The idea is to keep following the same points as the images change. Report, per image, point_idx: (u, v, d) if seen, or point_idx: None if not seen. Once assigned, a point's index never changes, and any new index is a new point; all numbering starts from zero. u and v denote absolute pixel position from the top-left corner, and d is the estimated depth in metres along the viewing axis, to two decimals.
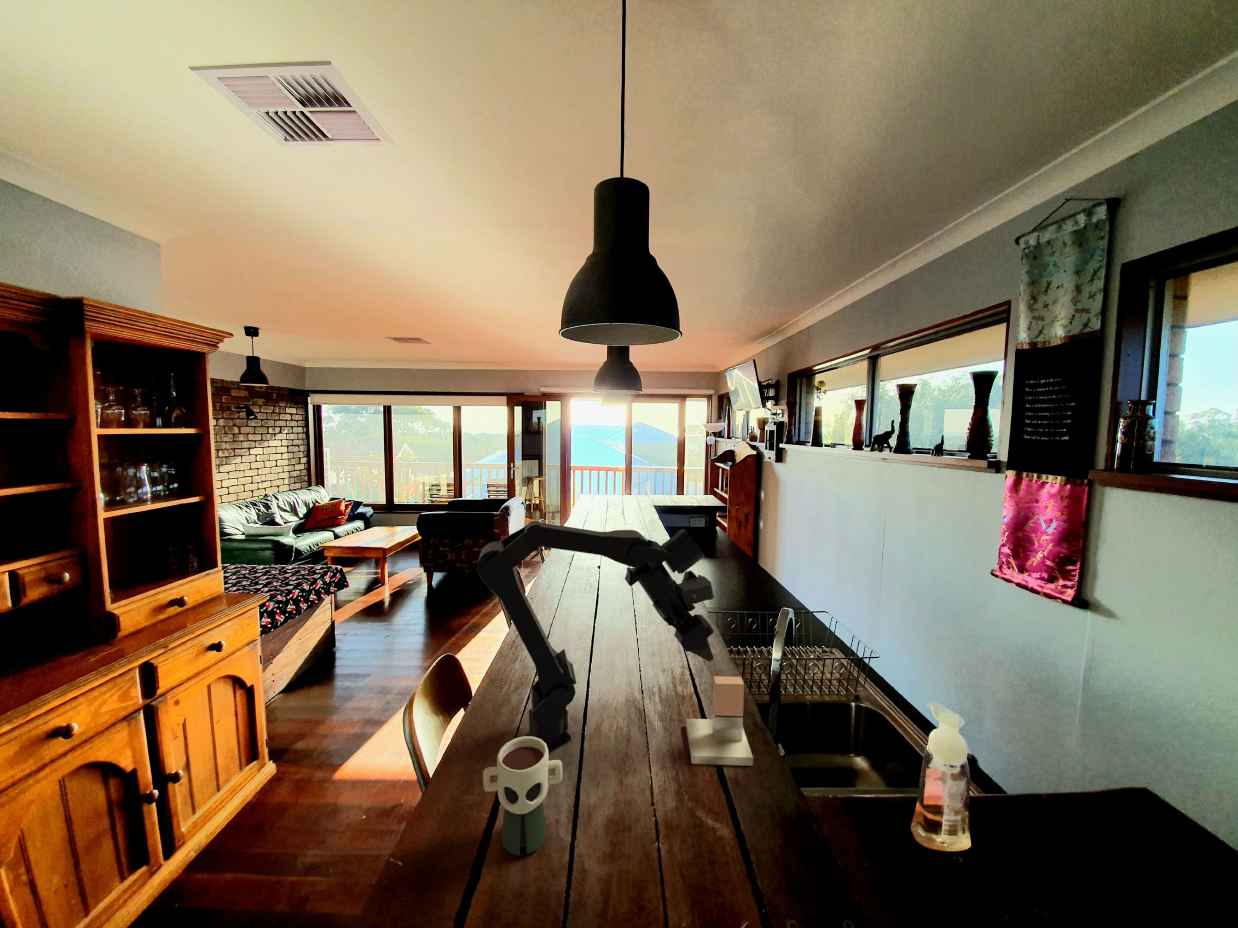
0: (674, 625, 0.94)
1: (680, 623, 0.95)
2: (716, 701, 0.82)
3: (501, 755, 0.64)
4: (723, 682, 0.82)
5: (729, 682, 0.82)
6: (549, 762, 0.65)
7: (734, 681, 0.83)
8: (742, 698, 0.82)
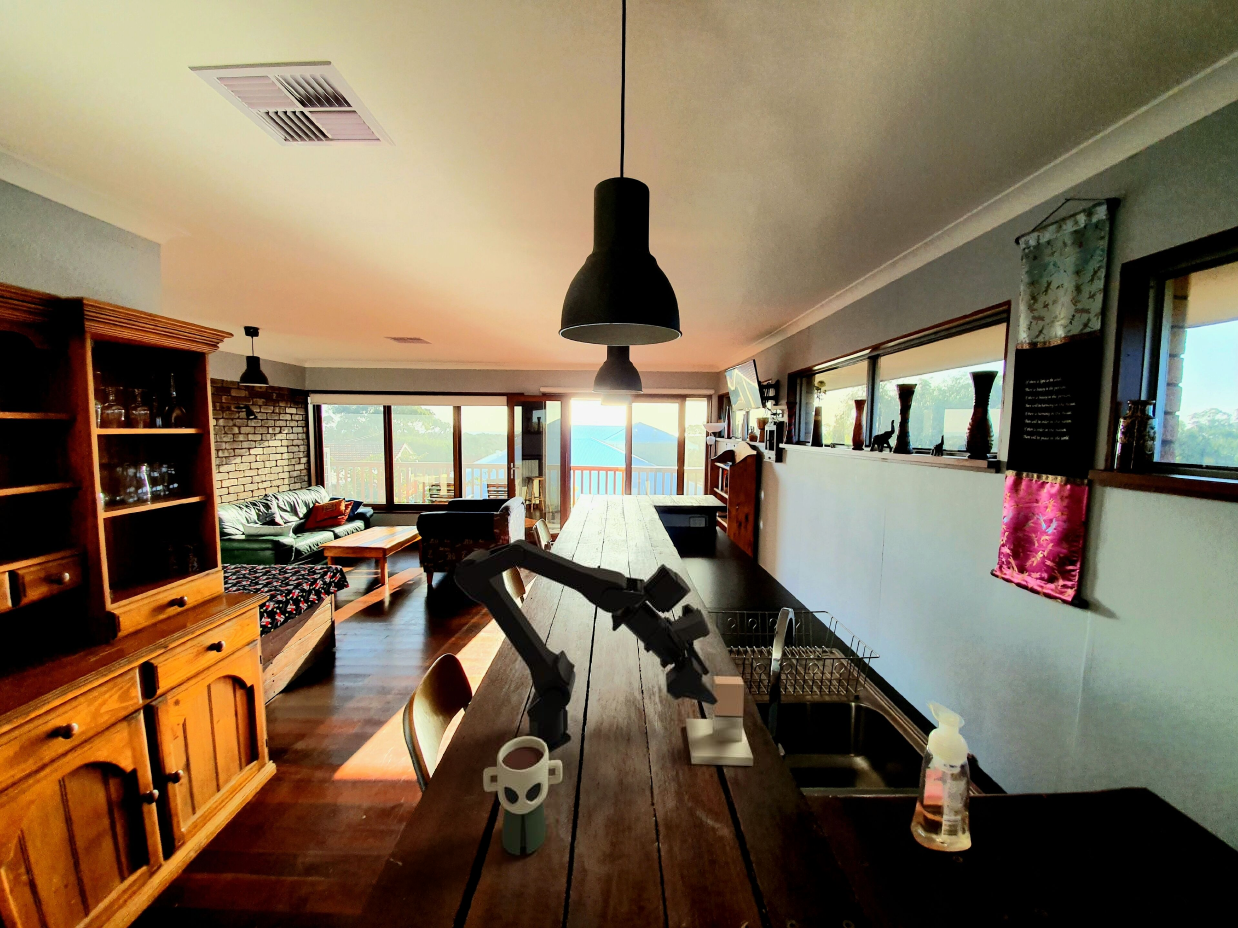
0: None
1: None
2: None
3: (501, 755, 0.64)
4: (723, 682, 0.82)
5: (729, 682, 0.82)
6: (549, 762, 0.65)
7: (734, 681, 0.83)
8: (742, 698, 0.82)
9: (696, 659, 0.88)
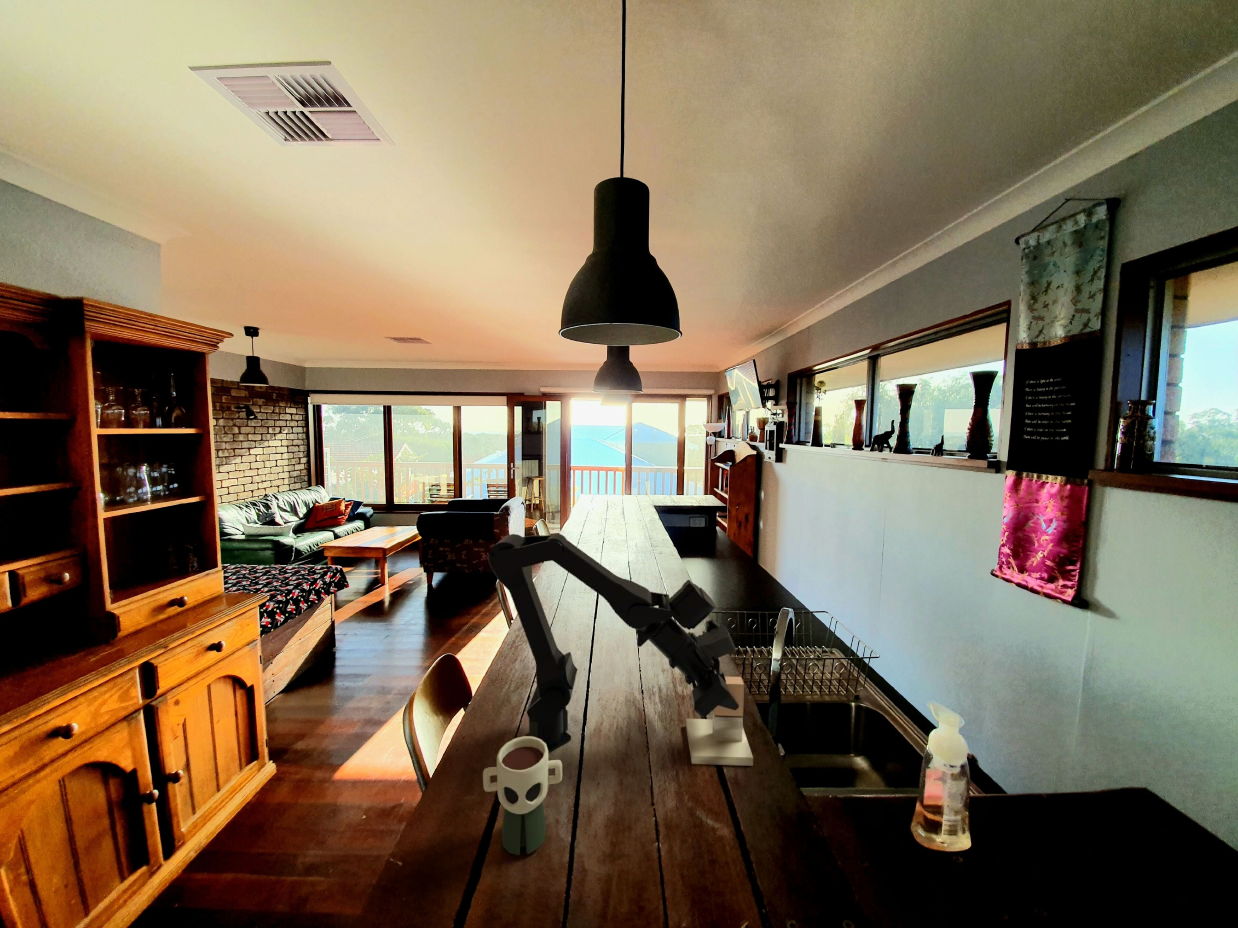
0: None
1: None
2: None
3: (501, 755, 0.64)
4: None
5: (729, 682, 0.82)
6: (549, 762, 0.65)
7: (734, 681, 0.83)
8: (742, 698, 0.82)
9: None
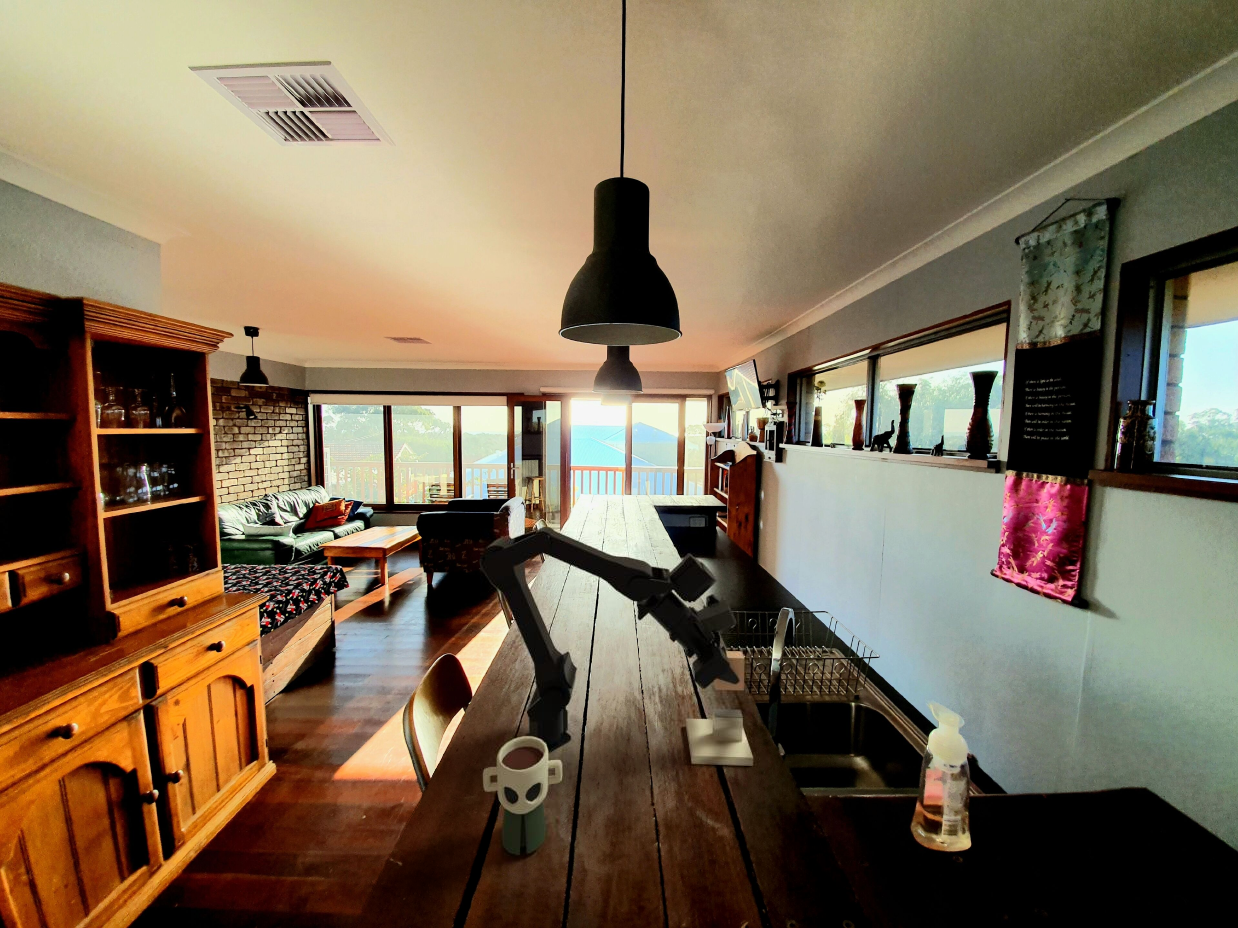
0: None
1: None
2: None
3: (501, 755, 0.64)
4: None
5: (729, 656, 0.82)
6: (549, 762, 0.65)
7: (735, 655, 0.82)
8: (743, 673, 0.82)
9: None
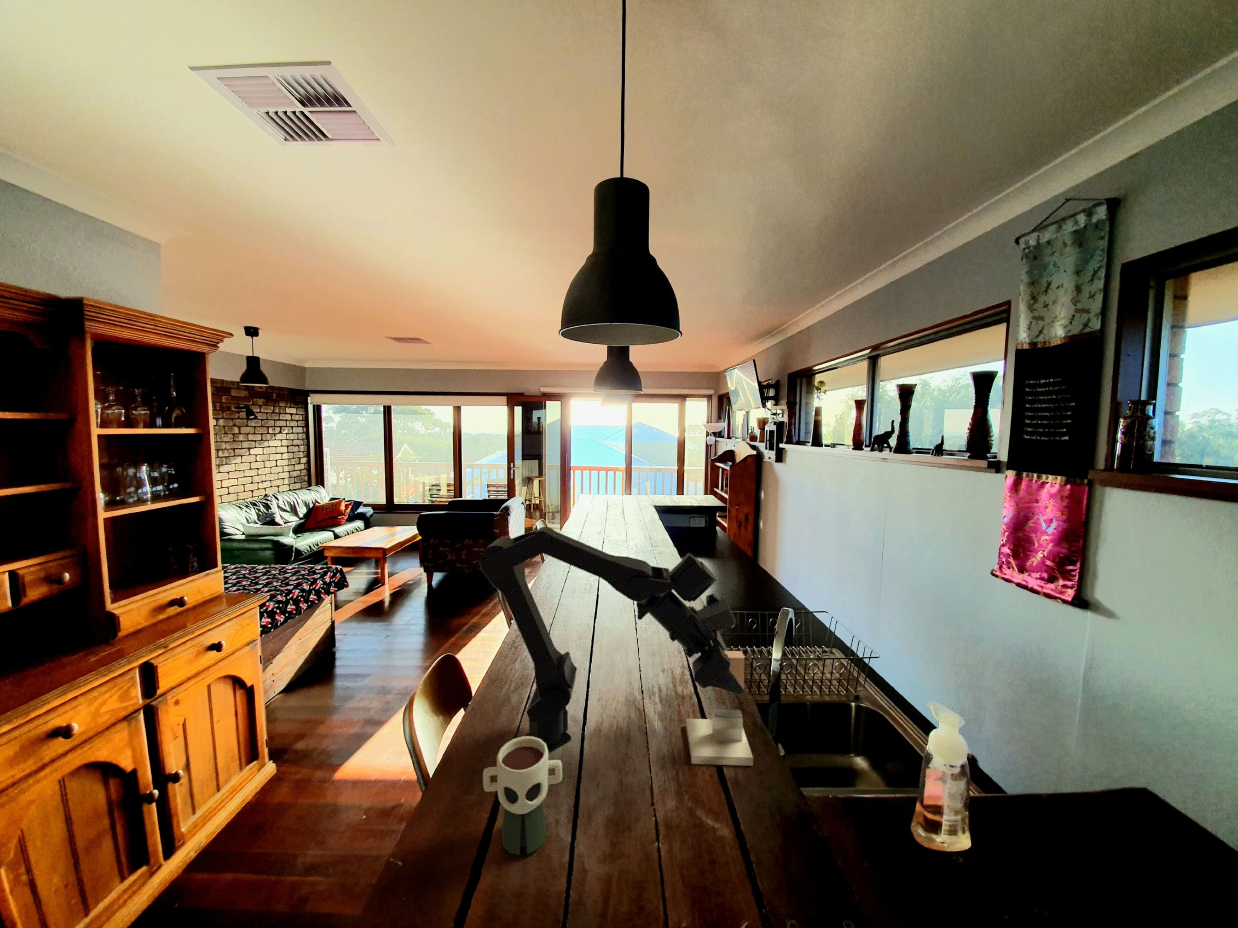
0: None
1: None
2: None
3: (501, 755, 0.64)
4: None
5: (729, 656, 0.82)
6: (549, 762, 0.65)
7: (735, 655, 0.82)
8: (743, 672, 0.82)
9: None
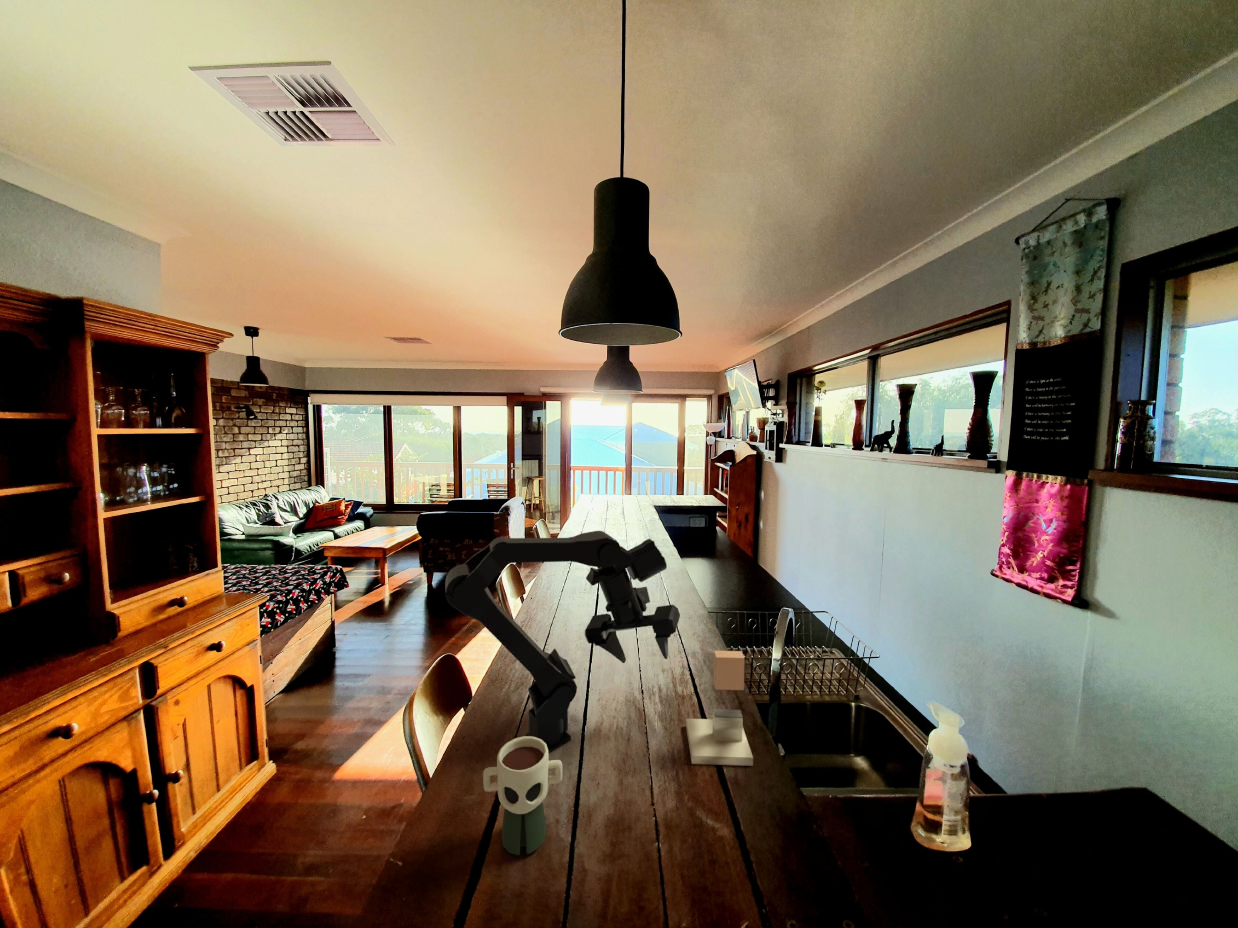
0: (613, 648, 0.91)
1: (616, 646, 0.92)
2: (717, 675, 0.82)
3: (501, 755, 0.64)
4: (724, 656, 0.82)
5: (729, 656, 0.82)
6: (549, 762, 0.65)
7: (735, 655, 0.82)
8: (743, 672, 0.82)
9: (619, 645, 0.93)
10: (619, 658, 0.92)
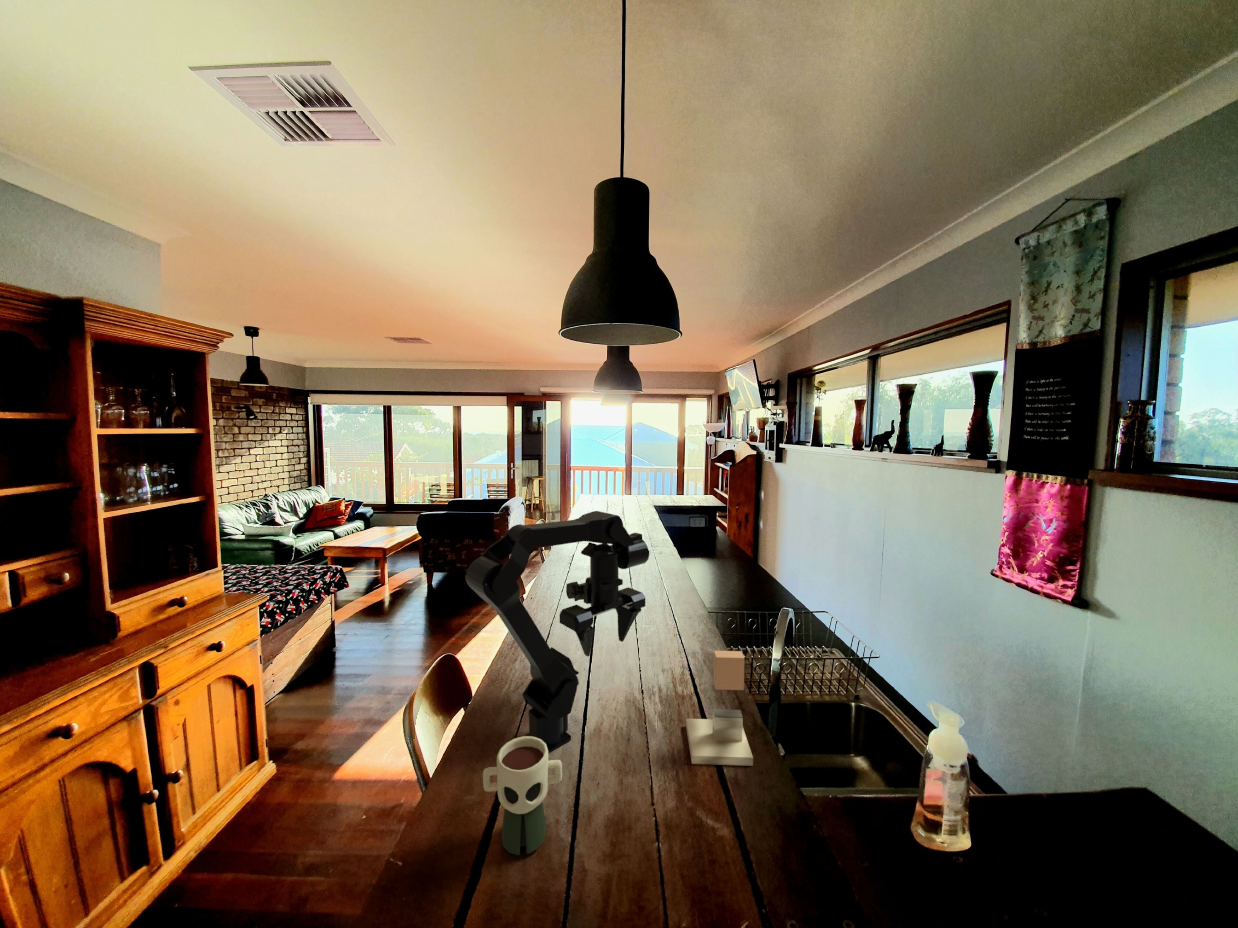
0: None
1: None
2: (717, 675, 0.82)
3: (501, 755, 0.64)
4: (724, 656, 0.82)
5: (729, 656, 0.82)
6: (549, 762, 0.65)
7: (735, 655, 0.82)
8: (743, 672, 0.82)
9: None
10: (589, 649, 0.90)
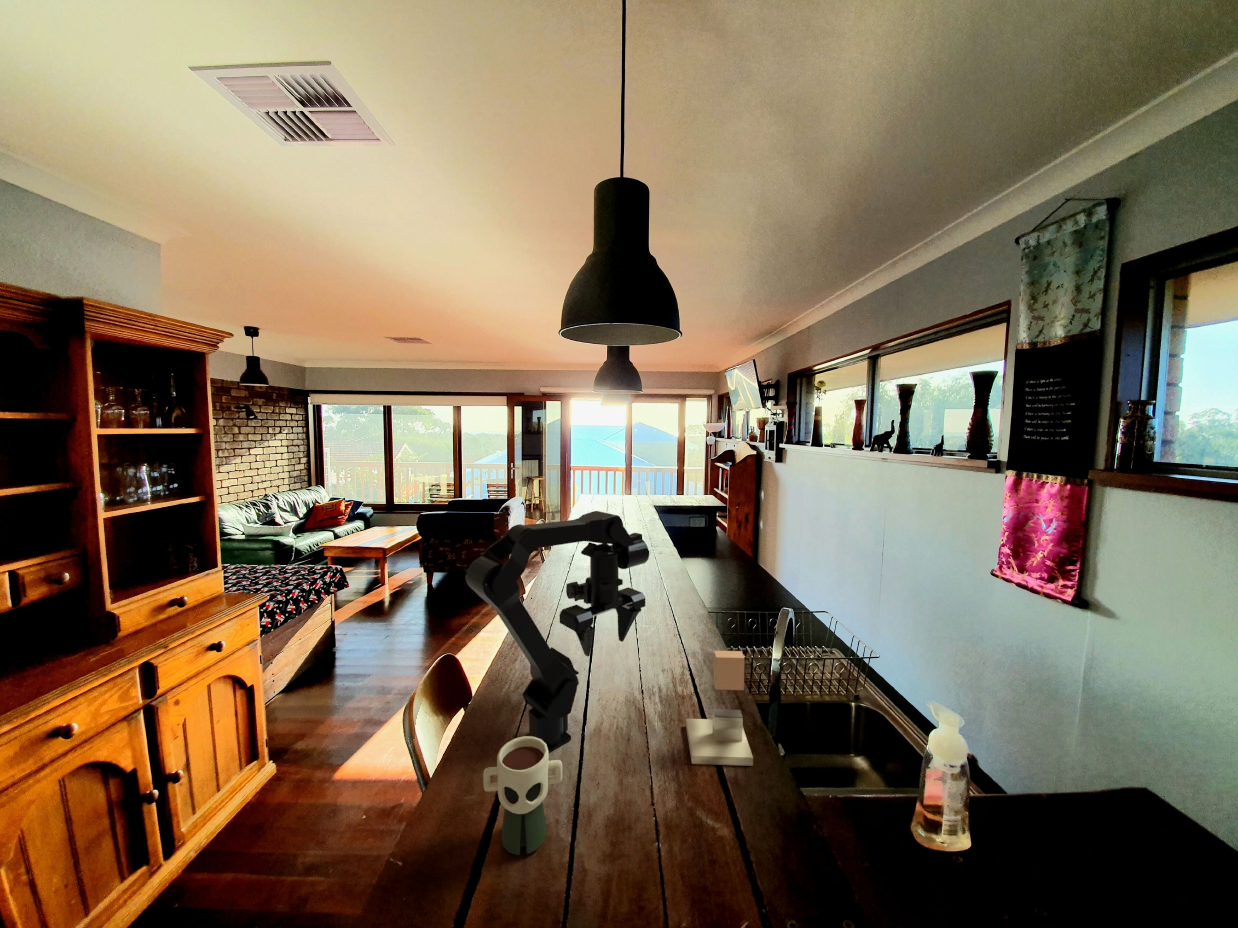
0: None
1: None
2: (717, 675, 0.82)
3: (501, 755, 0.64)
4: (724, 656, 0.82)
5: (729, 656, 0.82)
6: (549, 762, 0.65)
7: (735, 655, 0.82)
8: (743, 672, 0.82)
9: None
10: (589, 649, 0.90)
